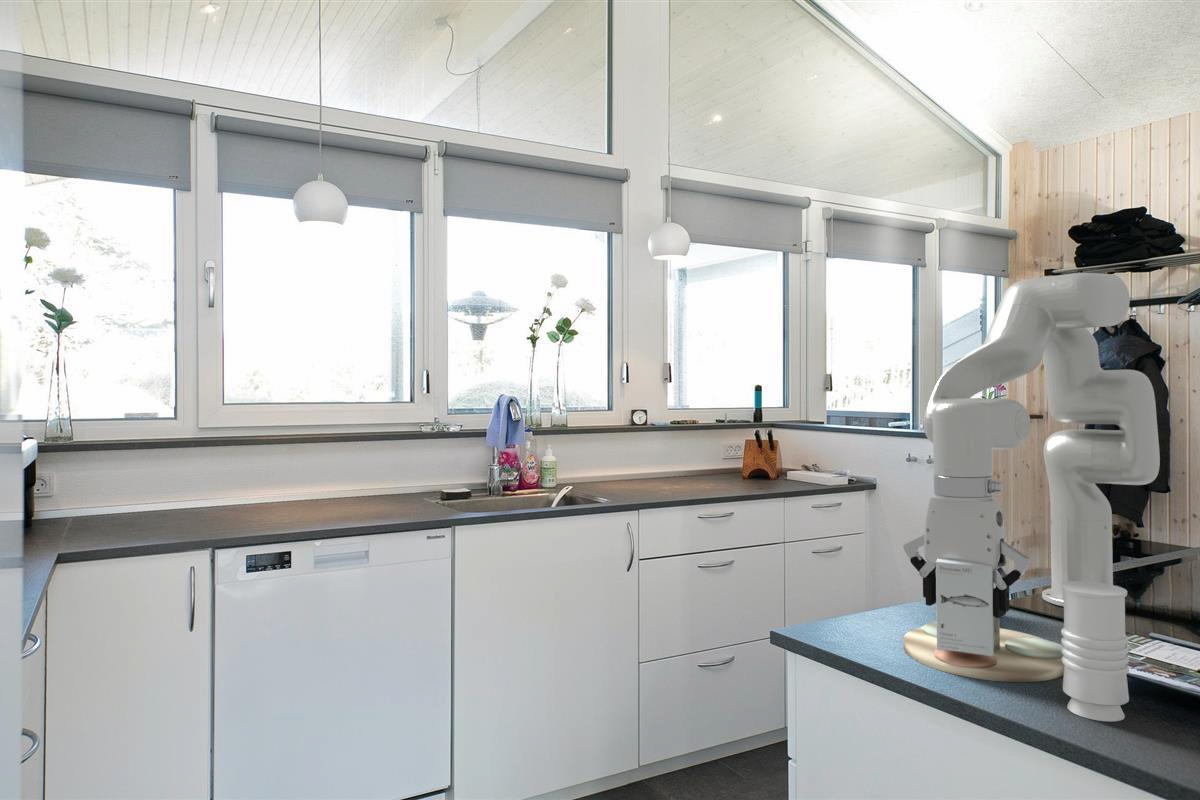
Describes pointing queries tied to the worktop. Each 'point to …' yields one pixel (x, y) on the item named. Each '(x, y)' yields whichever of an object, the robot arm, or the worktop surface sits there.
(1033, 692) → the worktop surface
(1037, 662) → the carrier
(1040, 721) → the worktop surface
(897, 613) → the worktop surface
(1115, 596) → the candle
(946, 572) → the supplement box
